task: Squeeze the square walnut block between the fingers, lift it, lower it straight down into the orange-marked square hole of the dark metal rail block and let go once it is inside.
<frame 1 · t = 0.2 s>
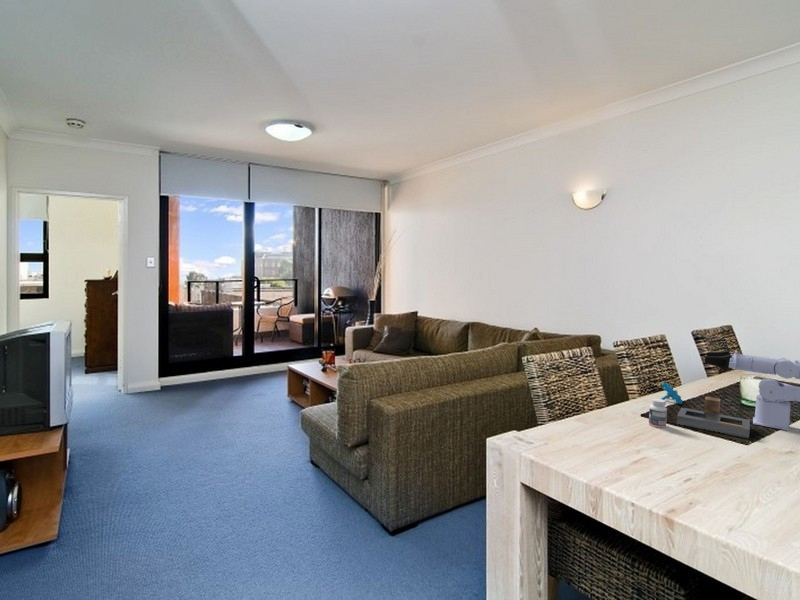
hand: (705, 357, 168), 21 cm above the table, tool horizontal, fingers open, 7 cm apart
rail block: (712, 426, 155), on the table
walnut block: (711, 417, 164), on the table
pill bottle: (657, 425, 155), on the table
gear: (671, 402, 183), on the table
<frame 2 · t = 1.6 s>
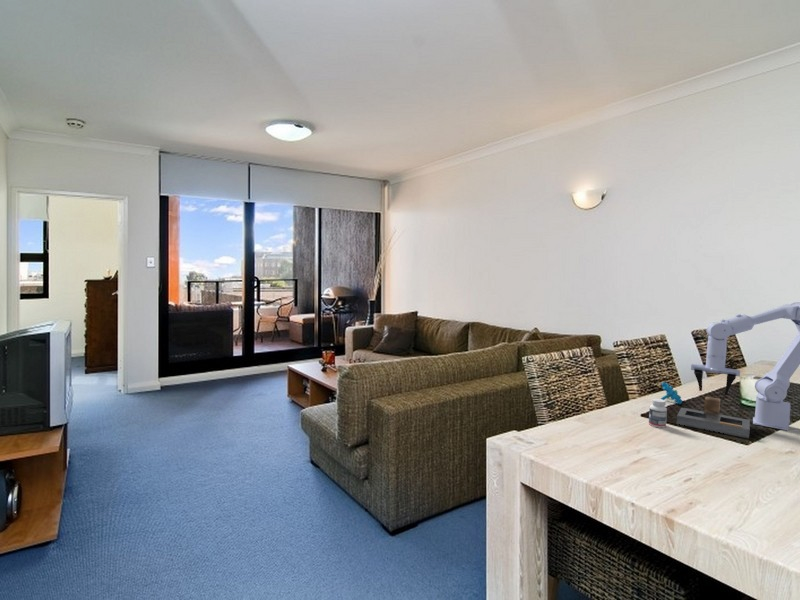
hand: (713, 392, 163), 9 cm above the table, tool pointing down, fingers open, 7 cm apart
nothing on the table moved.
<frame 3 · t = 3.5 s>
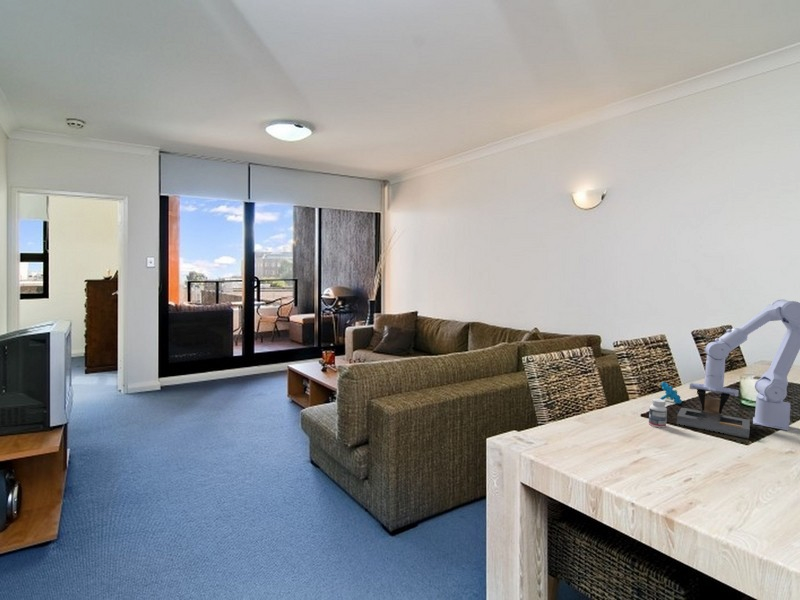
hand: (711, 411, 164), 2 cm above the table, tool pointing down, fingers closed on walnut block, 4 cm apart
walnut block: (711, 417, 164), on the table, touching gripper
everything else where it was.
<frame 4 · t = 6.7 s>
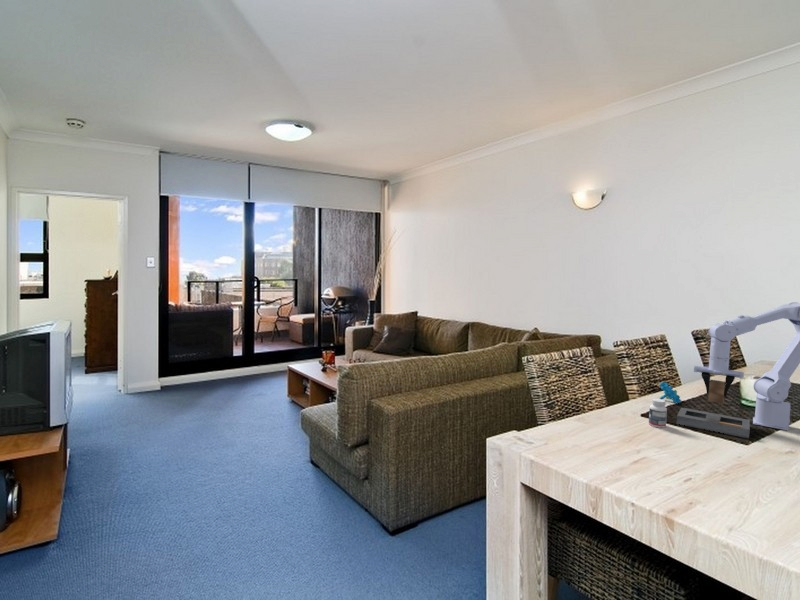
hand: (716, 394, 161), 9 cm above the table, tool pointing down, fingers closed on walnut block, 4 cm apart
walnut block: (716, 400, 161), point 7 cm above the table, touching gripper
everything else where it was.
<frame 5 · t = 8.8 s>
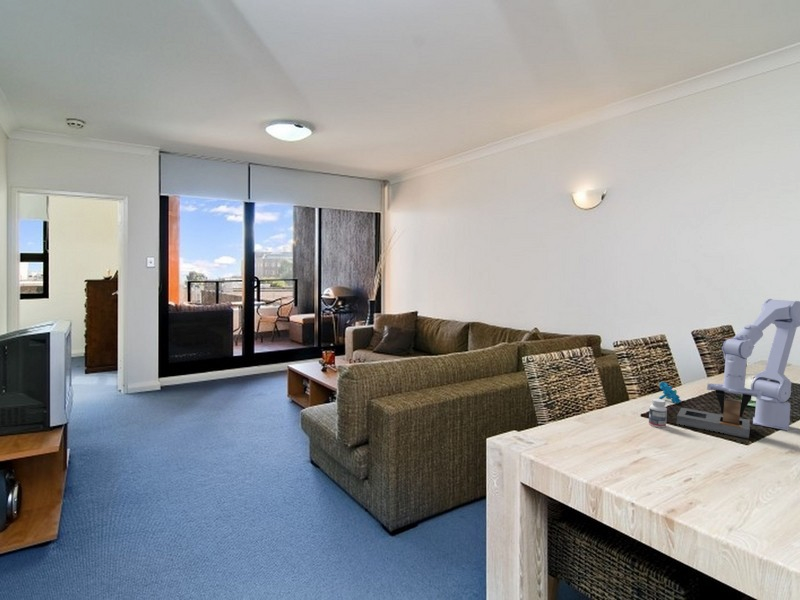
hand: (731, 414, 151), 5 cm above the table, tool pointing down, fingers closed on walnut block, 4 cm apart
walnut block: (731, 420, 151), point 3 cm above the table, touching gripper
everything else where it was.
when the fingers open (4 cm above the table, at t = 10.4 s): walnut block drops 1 cm, resting in rail block.
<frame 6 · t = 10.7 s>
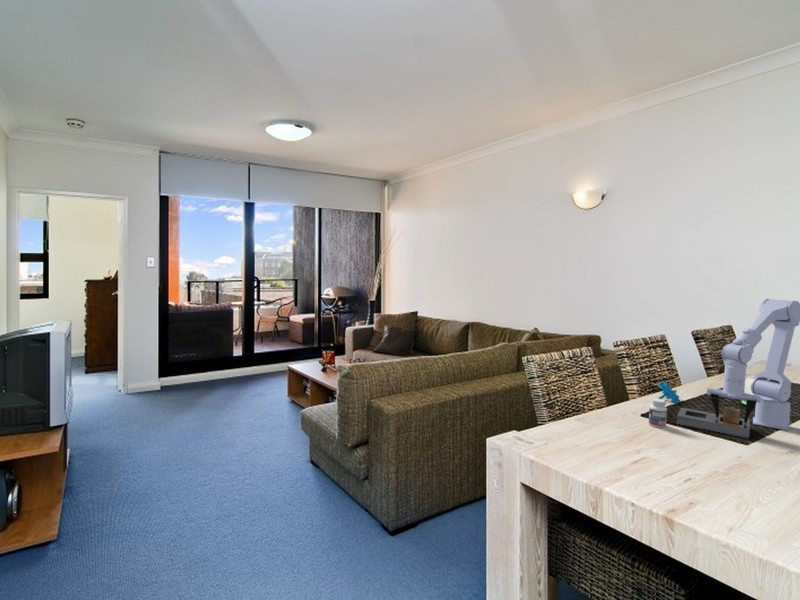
hand: (731, 419, 151), 4 cm above the table, tool pointing down, fingers open, 7 cm apart
walnut block: (730, 429, 152), resting in rail block
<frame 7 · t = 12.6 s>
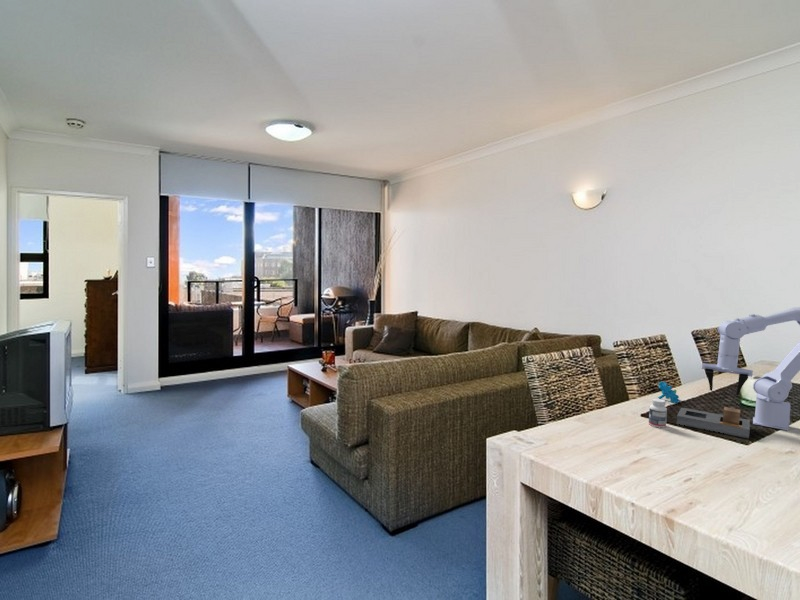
hand: (724, 392, 160), 10 cm above the table, tool pointing down, fingers open, 7 cm apart
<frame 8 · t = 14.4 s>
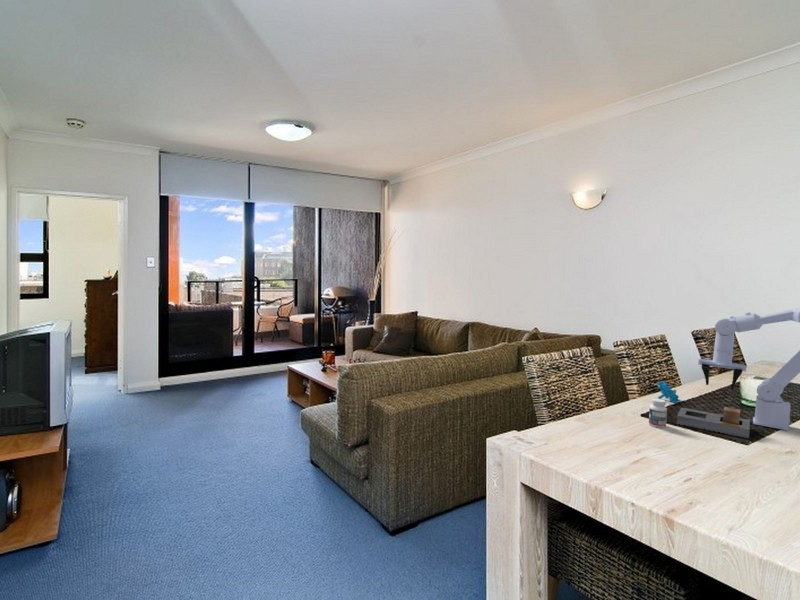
hand: (719, 386, 168), 10 cm above the table, tool pointing down, fingers open, 7 cm apart
at the end: walnut block 0.0 cm from the target spot on the rail block, point 0.0 cm above the rail block's base; walnut block tilted 0°; the gripper is holding nothing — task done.
